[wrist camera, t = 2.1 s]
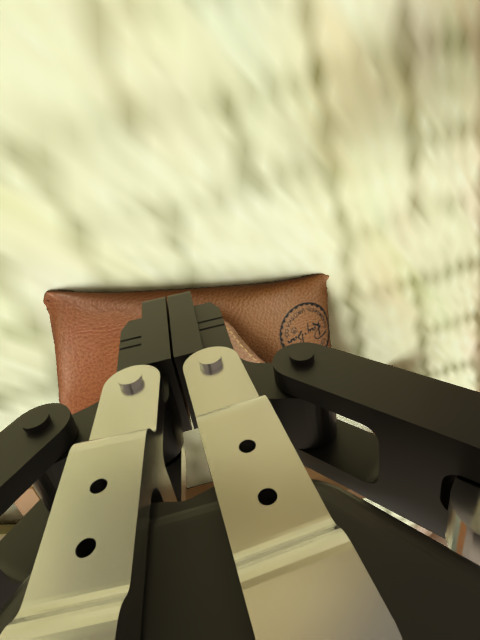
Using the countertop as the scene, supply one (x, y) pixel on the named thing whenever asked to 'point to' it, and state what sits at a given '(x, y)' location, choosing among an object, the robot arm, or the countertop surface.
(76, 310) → the sunglasses case
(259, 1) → the countertop surface
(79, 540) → the robot arm
